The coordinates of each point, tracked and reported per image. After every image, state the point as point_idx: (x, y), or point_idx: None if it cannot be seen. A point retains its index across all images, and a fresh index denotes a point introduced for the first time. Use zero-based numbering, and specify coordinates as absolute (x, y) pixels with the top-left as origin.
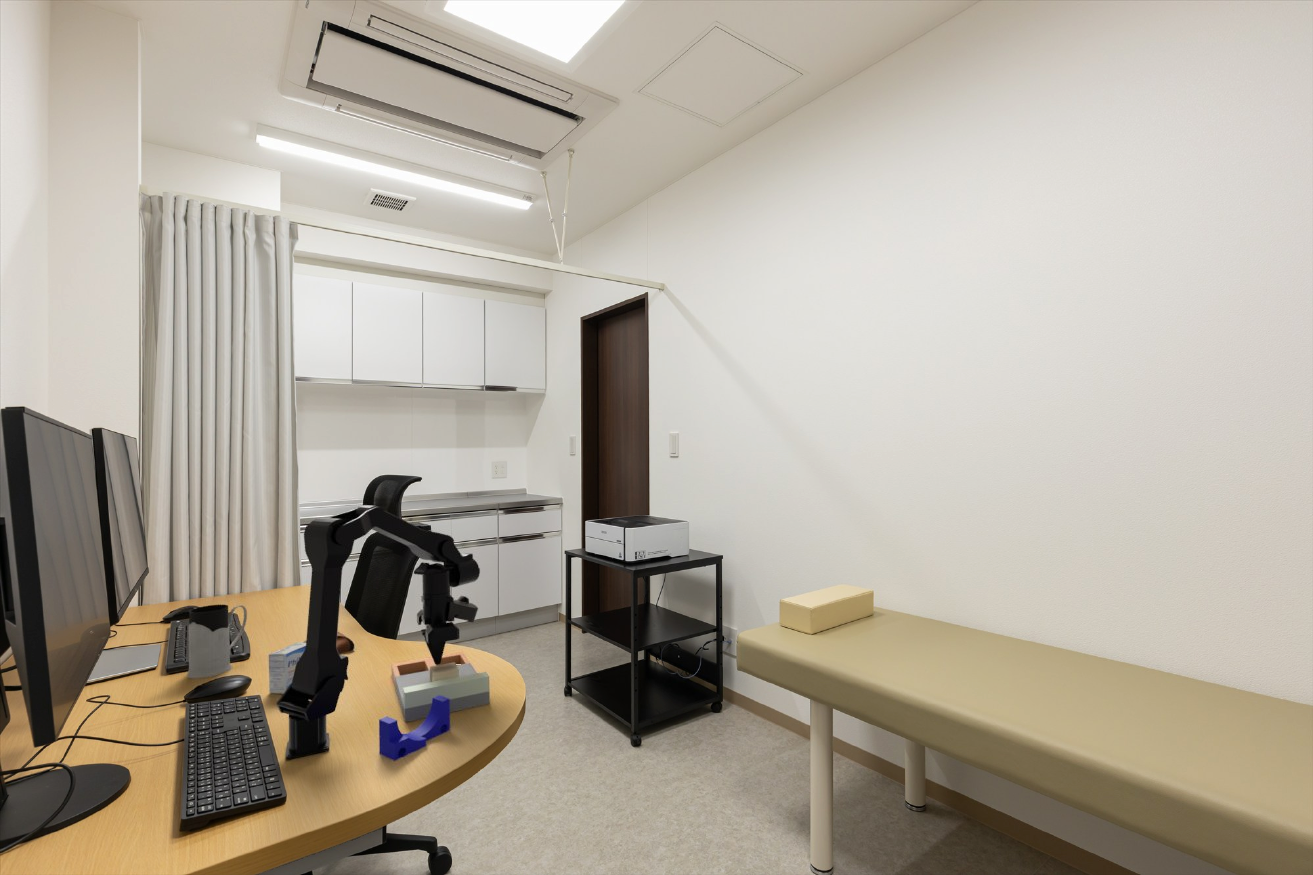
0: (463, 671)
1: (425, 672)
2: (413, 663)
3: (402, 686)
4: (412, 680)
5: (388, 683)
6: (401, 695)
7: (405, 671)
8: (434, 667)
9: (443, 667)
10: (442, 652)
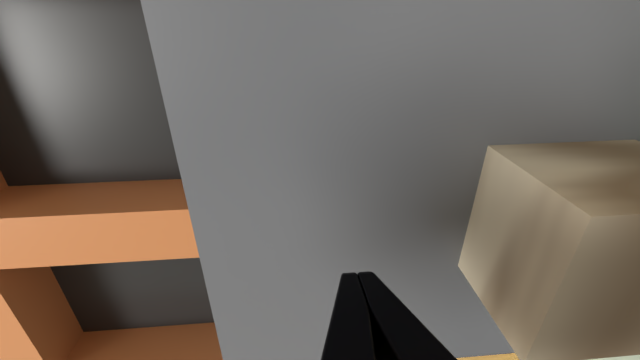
0: (340, 56)
1: (228, 273)
2: (19, 316)
3: None
4: (325, 324)
5: None
6: (480, 354)
7: (62, 315)
8: (565, 342)
9: (626, 296)
10: (439, 348)
